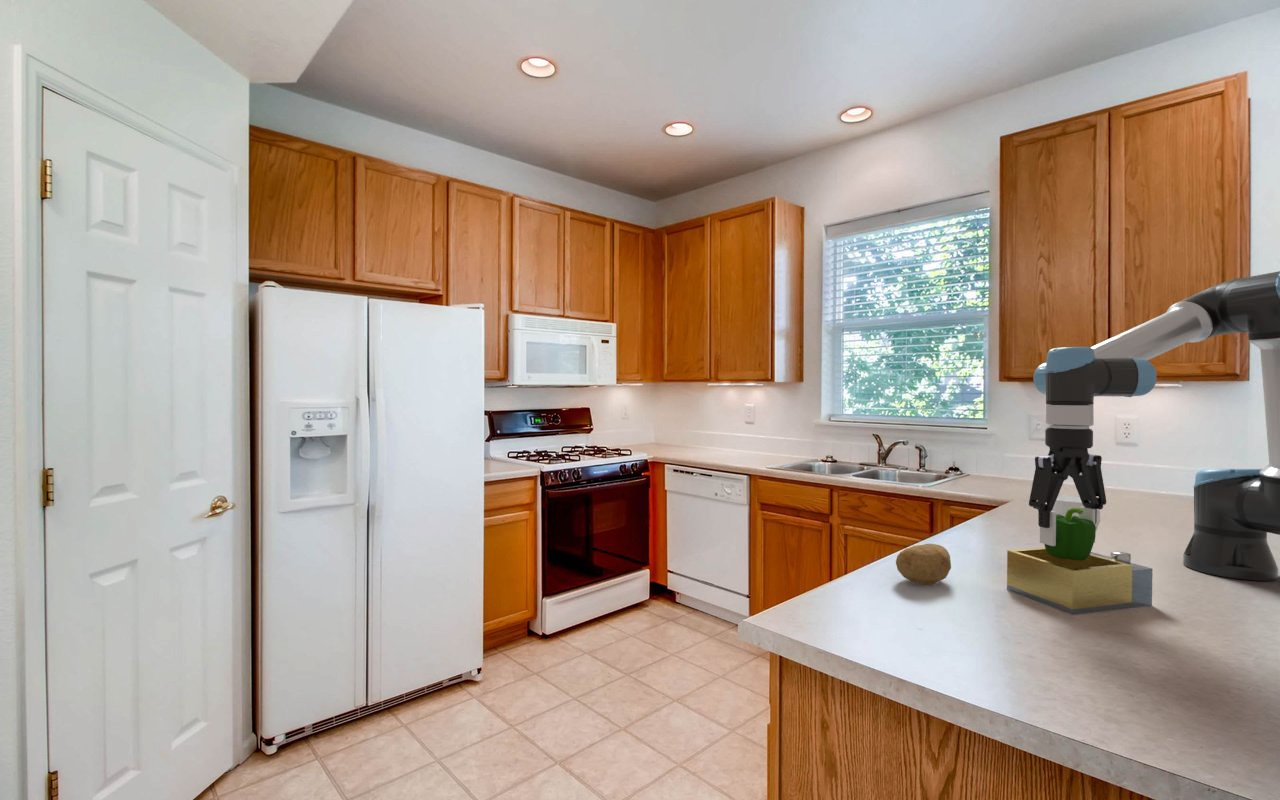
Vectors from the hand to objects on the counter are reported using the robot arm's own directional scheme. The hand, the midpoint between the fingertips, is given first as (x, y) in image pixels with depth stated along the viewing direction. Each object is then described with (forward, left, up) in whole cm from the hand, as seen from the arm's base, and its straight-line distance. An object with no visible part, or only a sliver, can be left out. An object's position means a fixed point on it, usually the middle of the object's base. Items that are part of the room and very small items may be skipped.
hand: (1067, 542), depth 116 cm
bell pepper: (0, 0, -3) cm, 3 cm away
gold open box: (-2, 0, -11) cm, 11 cm away
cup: (-24, -19, -11) cm, 33 cm away
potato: (+20, -15, -11) cm, 27 cm away
